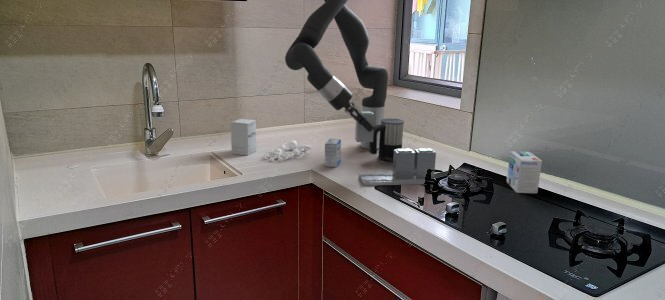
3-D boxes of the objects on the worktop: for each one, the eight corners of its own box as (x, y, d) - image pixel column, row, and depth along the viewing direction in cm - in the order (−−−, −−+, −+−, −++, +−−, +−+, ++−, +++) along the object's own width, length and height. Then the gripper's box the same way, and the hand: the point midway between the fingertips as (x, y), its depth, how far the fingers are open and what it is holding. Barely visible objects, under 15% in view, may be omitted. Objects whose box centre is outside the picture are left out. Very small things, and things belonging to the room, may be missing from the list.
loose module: (355, 139, 163) (355, 111, 160) (371, 139, 163) (372, 111, 161) (356, 142, 159) (357, 113, 157) (373, 141, 160) (374, 113, 157)
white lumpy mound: (281, 169, 172) (281, 158, 171) (254, 158, 181) (255, 148, 179) (317, 156, 186) (317, 146, 185) (290, 147, 195) (291, 137, 193)
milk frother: (388, 153, 190) (390, 116, 186) (421, 162, 179) (424, 123, 175) (364, 160, 180) (366, 121, 176) (397, 170, 169) (400, 129, 165)
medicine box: (336, 167, 171) (337, 144, 168) (324, 166, 172) (324, 143, 169) (340, 161, 178) (341, 138, 176) (329, 160, 179) (329, 138, 177)
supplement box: (248, 155, 183) (247, 123, 179) (231, 153, 185) (229, 121, 182) (257, 151, 189) (256, 119, 186) (240, 149, 192) (239, 118, 188)
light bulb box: (505, 181, 159) (509, 150, 156) (526, 182, 159) (530, 151, 156) (516, 193, 149) (520, 160, 146) (538, 193, 149) (543, 160, 146)
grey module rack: (358, 177, 160) (360, 147, 158) (428, 176, 163) (430, 146, 160) (363, 185, 153) (364, 153, 150) (435, 184, 156) (438, 152, 153)
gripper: (346, 88, 148) (383, 125, 153) (340, 81, 162) (374, 116, 167) (329, 105, 149) (366, 141, 154) (324, 97, 163) (358, 131, 168)
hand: (370, 128), depth 160 cm, fingers closed on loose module, 3 cm apart
